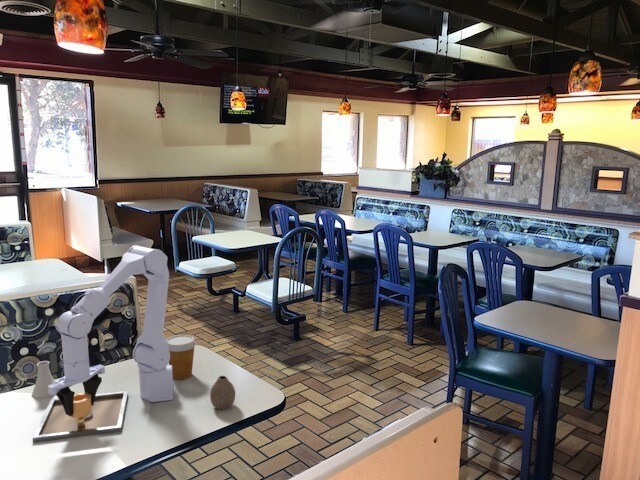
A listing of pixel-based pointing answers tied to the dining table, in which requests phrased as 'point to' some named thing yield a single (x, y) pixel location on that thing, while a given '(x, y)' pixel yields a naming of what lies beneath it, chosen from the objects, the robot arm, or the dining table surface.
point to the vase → (222, 393)
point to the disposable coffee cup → (181, 355)
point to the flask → (43, 380)
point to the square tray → (87, 432)
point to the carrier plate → (102, 417)
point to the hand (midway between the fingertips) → (79, 409)
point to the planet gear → (81, 405)
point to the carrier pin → (81, 422)
